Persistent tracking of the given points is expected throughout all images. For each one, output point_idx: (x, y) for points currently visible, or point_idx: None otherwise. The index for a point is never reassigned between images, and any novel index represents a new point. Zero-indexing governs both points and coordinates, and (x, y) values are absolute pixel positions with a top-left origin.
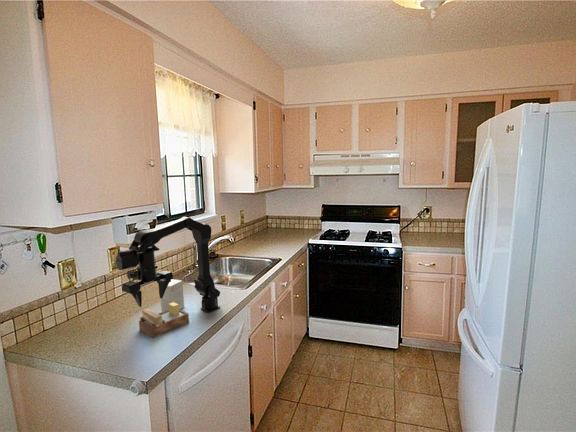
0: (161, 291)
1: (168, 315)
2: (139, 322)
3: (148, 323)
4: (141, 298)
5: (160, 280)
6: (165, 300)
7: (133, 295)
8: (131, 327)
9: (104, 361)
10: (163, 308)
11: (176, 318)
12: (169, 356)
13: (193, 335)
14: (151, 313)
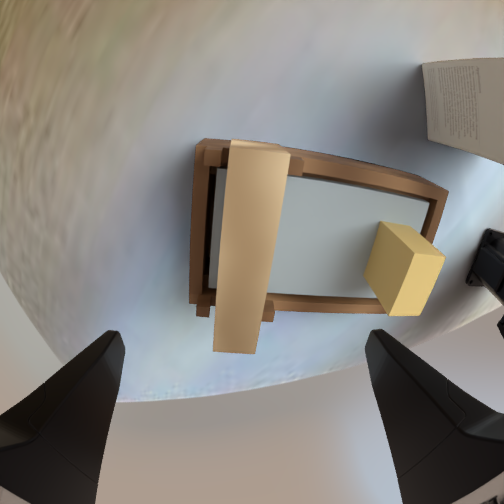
0: (394, 410)
1: (360, 238)
2: (196, 150)
3: (217, 228)
4: (102, 449)
5: (480, 490)
6: (477, 104)
7: (17, 425)
8: (201, 59)
9: (21, 265)
10: (437, 78)
11: (340, 311)
12: (172, 391)
13: (300, 367)
14: (237, 277)
